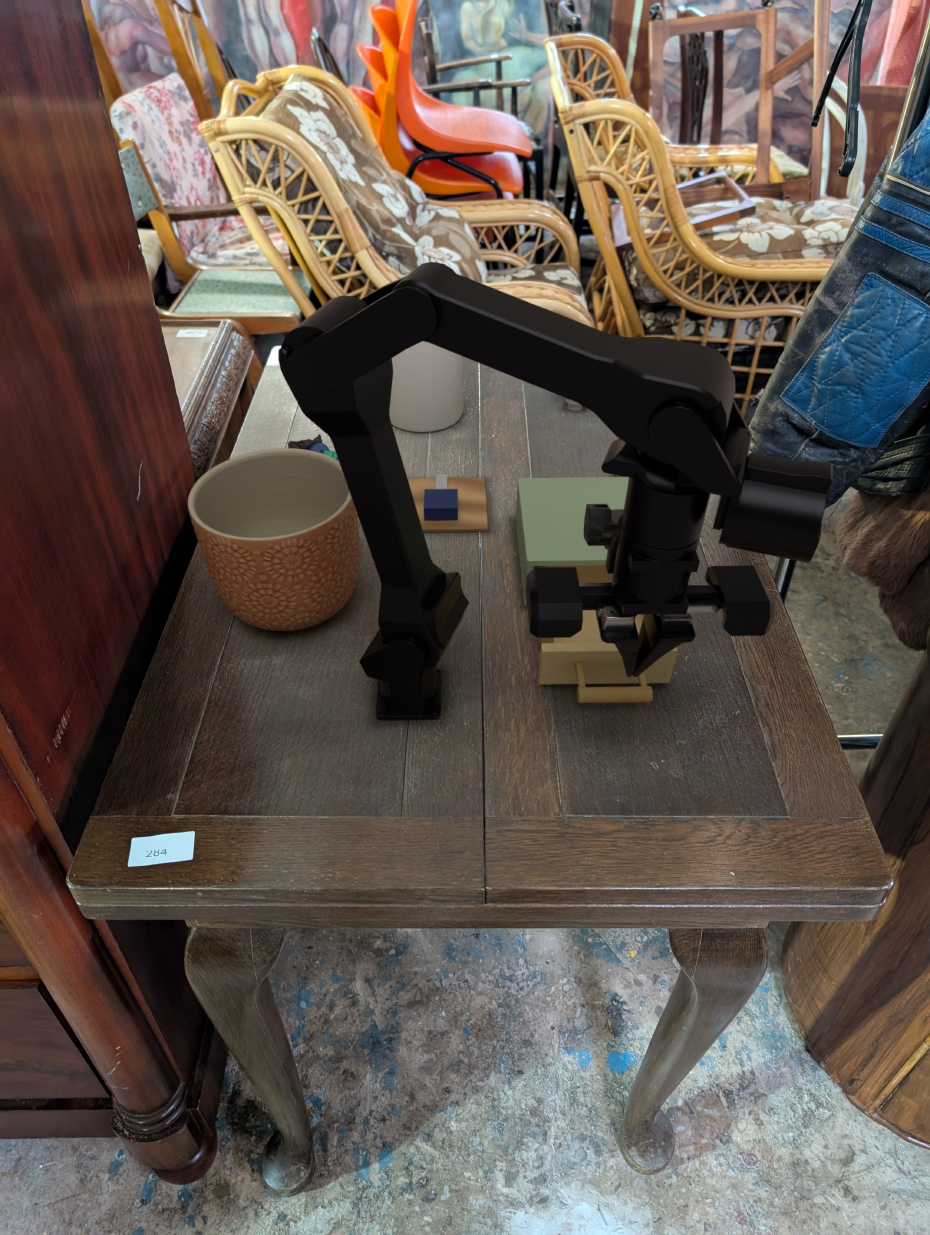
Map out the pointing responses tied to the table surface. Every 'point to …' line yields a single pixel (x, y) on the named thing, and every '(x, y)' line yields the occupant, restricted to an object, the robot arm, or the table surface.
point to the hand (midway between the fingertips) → (631, 673)
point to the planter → (278, 536)
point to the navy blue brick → (440, 501)
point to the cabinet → (561, 520)
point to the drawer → (598, 658)
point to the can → (426, 388)
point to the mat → (469, 504)
